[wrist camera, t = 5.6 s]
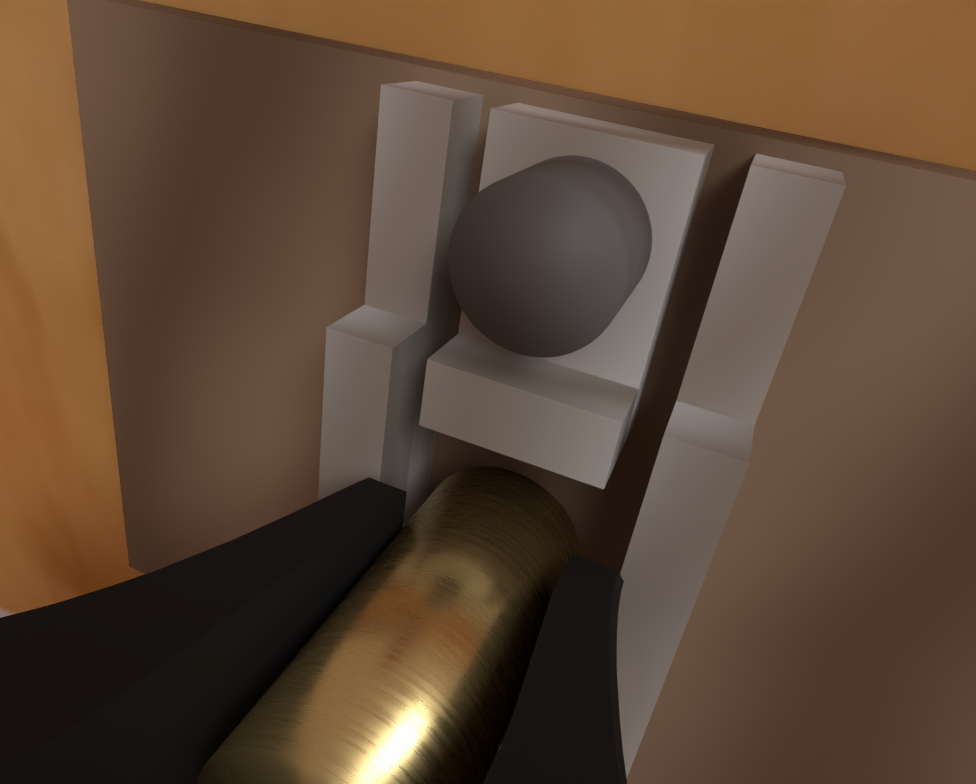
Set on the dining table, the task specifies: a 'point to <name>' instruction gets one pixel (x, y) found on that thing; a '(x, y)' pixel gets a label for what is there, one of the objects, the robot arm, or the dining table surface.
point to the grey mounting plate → (561, 364)
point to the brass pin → (416, 649)
